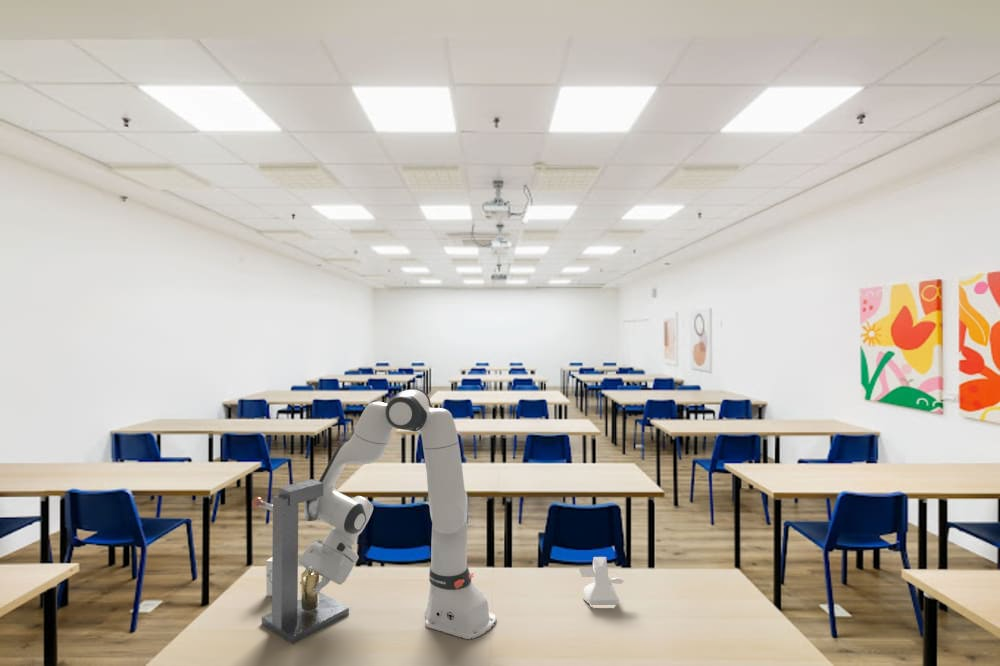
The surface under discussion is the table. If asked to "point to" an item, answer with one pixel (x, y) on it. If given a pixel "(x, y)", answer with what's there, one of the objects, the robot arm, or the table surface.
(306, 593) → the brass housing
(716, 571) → the table surface
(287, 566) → the bench press
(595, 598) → the white irregular piece
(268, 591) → the ink cartridge box
